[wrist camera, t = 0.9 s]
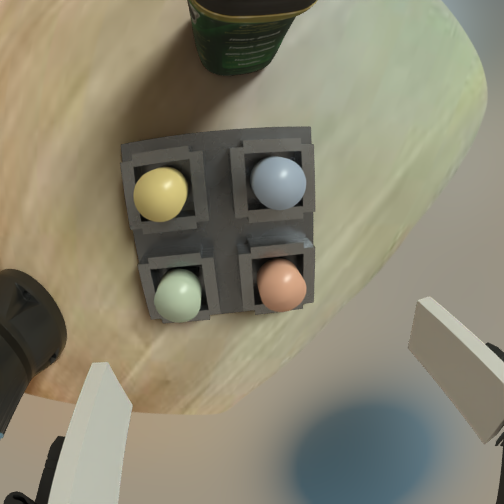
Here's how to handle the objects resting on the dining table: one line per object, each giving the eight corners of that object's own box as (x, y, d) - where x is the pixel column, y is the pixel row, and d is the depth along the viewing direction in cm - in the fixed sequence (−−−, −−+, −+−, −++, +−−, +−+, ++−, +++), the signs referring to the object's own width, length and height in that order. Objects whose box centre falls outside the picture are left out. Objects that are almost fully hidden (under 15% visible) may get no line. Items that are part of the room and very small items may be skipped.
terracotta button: (257, 299, 31) (261, 314, 28) (255, 260, 29) (259, 273, 26) (298, 294, 31) (305, 308, 28) (298, 255, 30) (306, 268, 27)
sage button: (163, 308, 30) (159, 324, 27) (155, 270, 28) (149, 284, 26) (204, 304, 30) (203, 320, 28) (198, 266, 29) (196, 280, 26)
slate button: (251, 204, 27) (255, 212, 24) (248, 157, 26) (252, 159, 23) (297, 201, 27) (306, 208, 25) (295, 155, 26) (305, 156, 23)
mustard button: (145, 216, 26) (137, 225, 23) (139, 170, 25) (130, 173, 22) (191, 210, 27) (188, 218, 24) (185, 163, 25) (182, 166, 22)
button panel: (154, 314, 34) (149, 333, 30) (123, 144, 27) (111, 145, 23) (309, 298, 35) (318, 315, 32) (307, 127, 28) (319, 125, 25)
